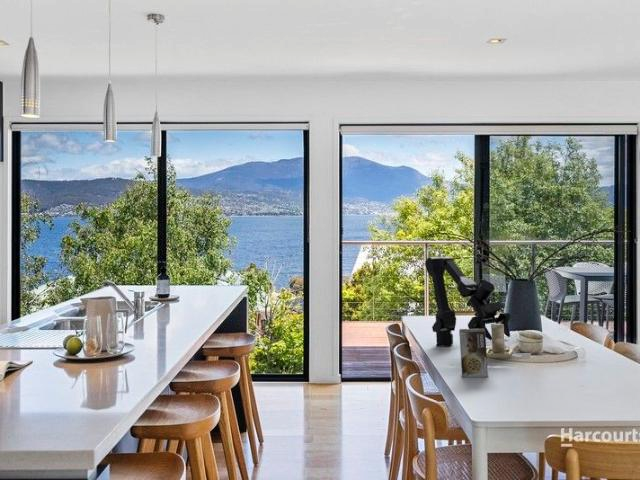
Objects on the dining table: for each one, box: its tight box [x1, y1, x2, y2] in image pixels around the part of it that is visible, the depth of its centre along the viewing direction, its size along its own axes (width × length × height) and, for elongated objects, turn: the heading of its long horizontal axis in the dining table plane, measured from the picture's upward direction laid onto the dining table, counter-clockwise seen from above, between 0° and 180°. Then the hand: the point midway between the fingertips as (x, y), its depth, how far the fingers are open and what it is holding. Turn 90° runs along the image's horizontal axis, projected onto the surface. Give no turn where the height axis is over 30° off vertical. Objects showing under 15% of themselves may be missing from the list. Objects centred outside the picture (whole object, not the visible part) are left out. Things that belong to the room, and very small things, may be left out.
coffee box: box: [458, 328, 489, 378], centre depth 237 cm, size 9×6×16 cm
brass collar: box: [486, 349, 513, 359], centre depth 266 cm, size 10×10×2 cm
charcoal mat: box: [487, 352, 532, 360], centre depth 271 cm, size 24×24×1 cm
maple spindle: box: [490, 323, 507, 353], centre depth 266 cm, size 6×6×12 cm
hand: (500, 337), depth 264 cm, fingers open, 9 cm apart
